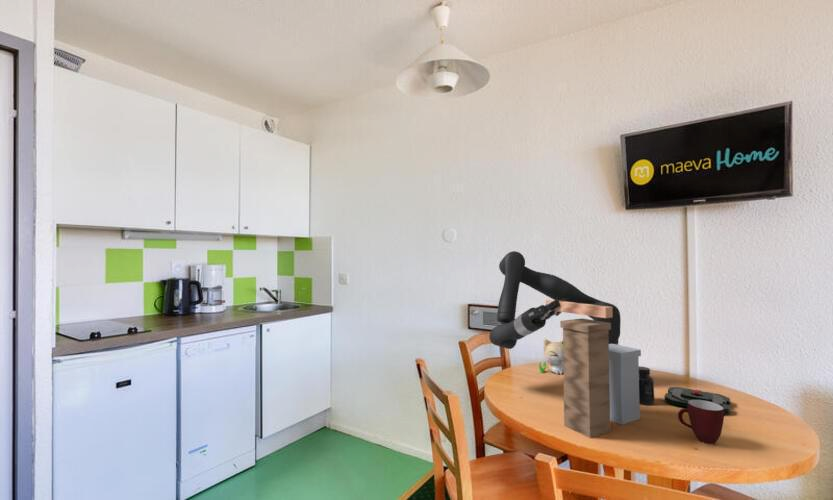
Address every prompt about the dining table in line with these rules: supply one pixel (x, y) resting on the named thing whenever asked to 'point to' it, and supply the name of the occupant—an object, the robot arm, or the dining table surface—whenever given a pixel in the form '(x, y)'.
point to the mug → (704, 420)
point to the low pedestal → (624, 383)
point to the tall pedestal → (586, 376)
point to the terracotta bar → (584, 309)
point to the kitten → (553, 356)
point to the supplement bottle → (645, 387)
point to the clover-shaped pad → (695, 397)
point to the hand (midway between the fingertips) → (562, 301)
